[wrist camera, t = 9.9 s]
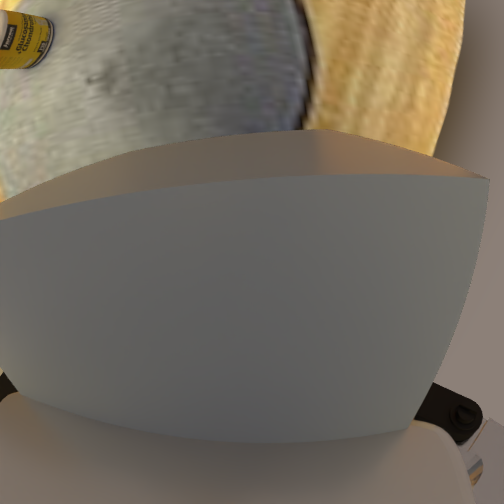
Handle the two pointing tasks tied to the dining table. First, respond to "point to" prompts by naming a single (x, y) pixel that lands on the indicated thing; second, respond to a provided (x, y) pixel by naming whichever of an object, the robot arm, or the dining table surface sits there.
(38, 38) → the pill bottle
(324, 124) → the dining table surface
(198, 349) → the grey rectangular block
